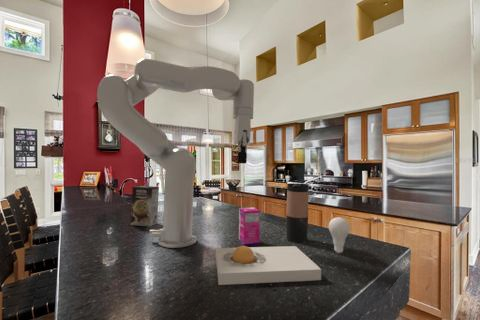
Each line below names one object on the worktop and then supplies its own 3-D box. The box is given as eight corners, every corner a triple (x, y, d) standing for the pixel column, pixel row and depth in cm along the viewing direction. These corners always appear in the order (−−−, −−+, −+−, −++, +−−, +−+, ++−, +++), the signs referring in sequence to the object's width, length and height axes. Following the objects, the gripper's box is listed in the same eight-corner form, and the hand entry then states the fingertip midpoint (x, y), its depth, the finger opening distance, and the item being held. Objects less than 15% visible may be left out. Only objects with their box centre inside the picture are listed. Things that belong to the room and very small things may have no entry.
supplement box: (238, 240, 84) (238, 207, 84) (253, 239, 86) (254, 207, 86) (243, 246, 79) (244, 210, 79) (260, 244, 80) (260, 210, 81)
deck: (218, 284, 53) (219, 273, 53) (215, 256, 69) (215, 248, 69) (321, 280, 56) (321, 269, 56) (295, 254, 72) (295, 246, 72)
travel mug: (305, 237, 90) (306, 183, 91) (309, 243, 83) (310, 185, 83) (285, 235, 91) (286, 183, 91) (286, 242, 83) (288, 184, 84)
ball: (236, 247, 59) (257, 250, 60) (233, 242, 65) (253, 245, 65) (232, 270, 58) (254, 273, 59) (229, 263, 64) (249, 266, 64)
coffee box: (130, 225, 100) (131, 186, 101) (139, 221, 107) (140, 185, 107) (150, 226, 99) (151, 187, 99) (158, 223, 105) (159, 186, 105)
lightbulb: (323, 251, 76) (324, 216, 76) (338, 248, 78) (339, 214, 78) (338, 258, 70) (339, 220, 70) (354, 255, 73) (354, 219, 73)
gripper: (231, 117, 96) (229, 163, 96) (235, 109, 82) (234, 163, 81) (249, 118, 98) (248, 163, 97) (257, 110, 83) (256, 163, 82)
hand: (241, 163), depth 89 cm, fingers closed
